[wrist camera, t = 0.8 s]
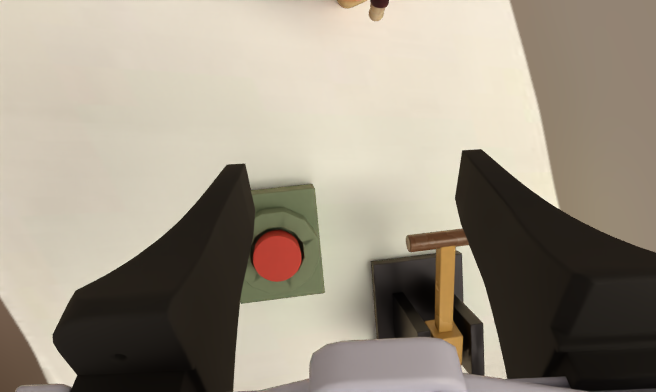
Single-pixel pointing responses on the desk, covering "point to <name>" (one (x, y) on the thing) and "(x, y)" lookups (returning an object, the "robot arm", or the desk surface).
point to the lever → (442, 281)
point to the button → (277, 255)
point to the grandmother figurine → (376, 8)
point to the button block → (300, 221)
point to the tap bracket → (422, 304)
